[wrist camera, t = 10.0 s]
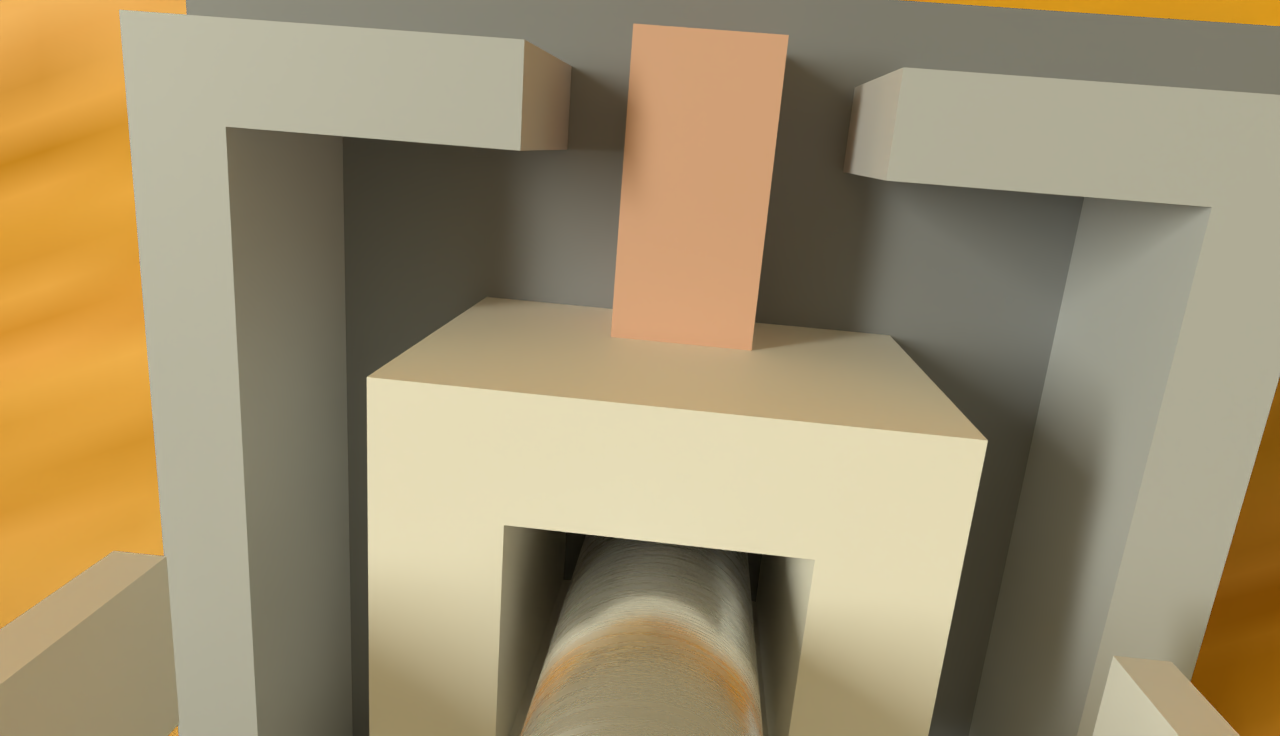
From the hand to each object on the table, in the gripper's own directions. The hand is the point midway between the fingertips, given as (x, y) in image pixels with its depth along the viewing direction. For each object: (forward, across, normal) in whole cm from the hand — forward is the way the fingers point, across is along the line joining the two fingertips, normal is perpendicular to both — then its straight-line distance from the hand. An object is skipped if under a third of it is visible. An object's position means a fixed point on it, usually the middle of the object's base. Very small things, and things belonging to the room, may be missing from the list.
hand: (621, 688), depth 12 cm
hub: (+6, 0, +3) cm, 7 cm away
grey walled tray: (+7, 0, 0) cm, 7 cm away
